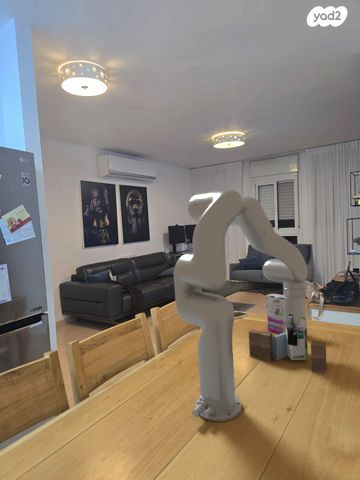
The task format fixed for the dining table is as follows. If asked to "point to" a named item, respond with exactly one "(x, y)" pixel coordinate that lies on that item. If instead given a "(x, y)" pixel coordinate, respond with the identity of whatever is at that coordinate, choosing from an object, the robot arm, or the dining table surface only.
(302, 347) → the syrup box
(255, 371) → the dining table surface
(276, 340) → the door
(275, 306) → the candy bar box
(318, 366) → the door frame
